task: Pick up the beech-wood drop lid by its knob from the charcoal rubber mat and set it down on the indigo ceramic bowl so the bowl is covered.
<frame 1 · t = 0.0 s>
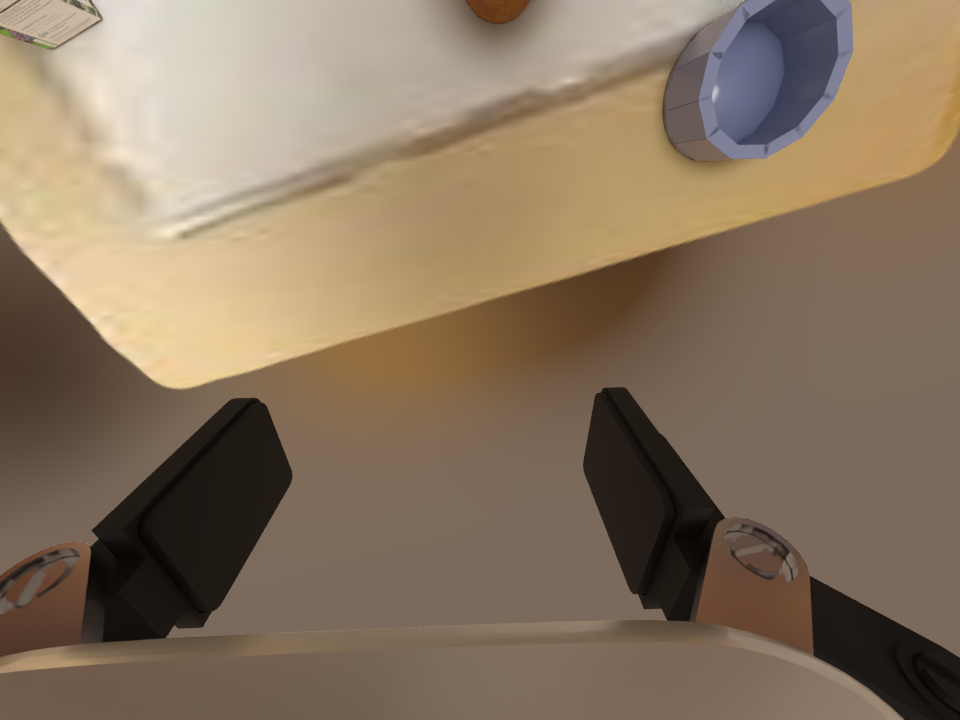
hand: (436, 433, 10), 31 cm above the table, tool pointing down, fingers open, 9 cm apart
bowl: (723, 92, 32), on the table
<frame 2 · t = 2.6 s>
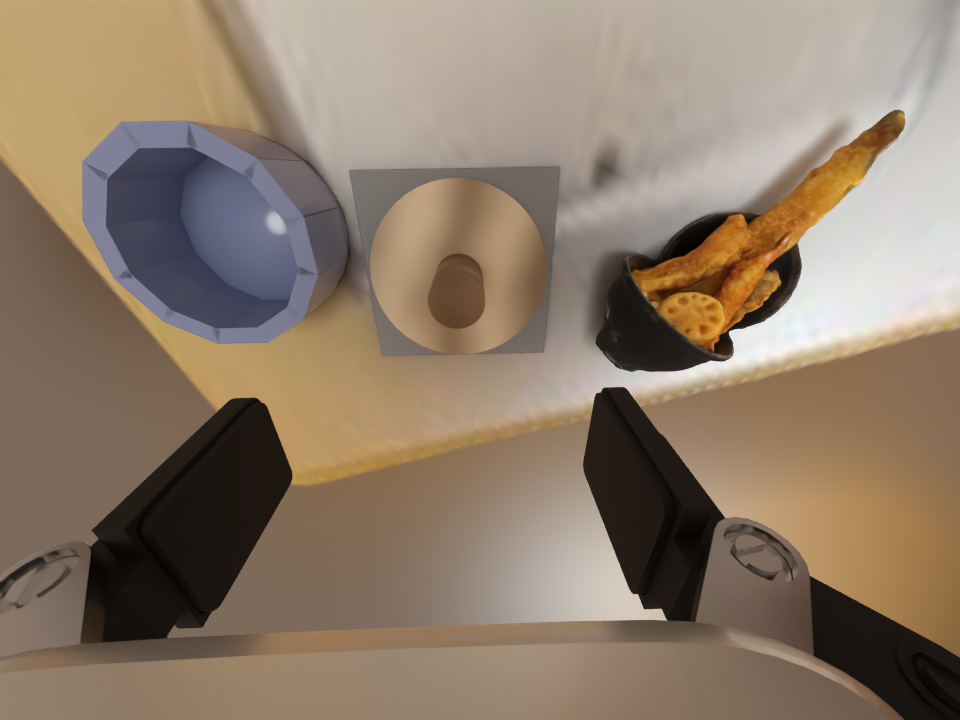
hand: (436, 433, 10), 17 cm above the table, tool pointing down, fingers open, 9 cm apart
mat: (459, 271, 25), on the table
black dish with food: (693, 251, 25), on the table
lid: (459, 273, 24), point 1 cm above the table, touching mat
bowl: (266, 231, 23), on the table
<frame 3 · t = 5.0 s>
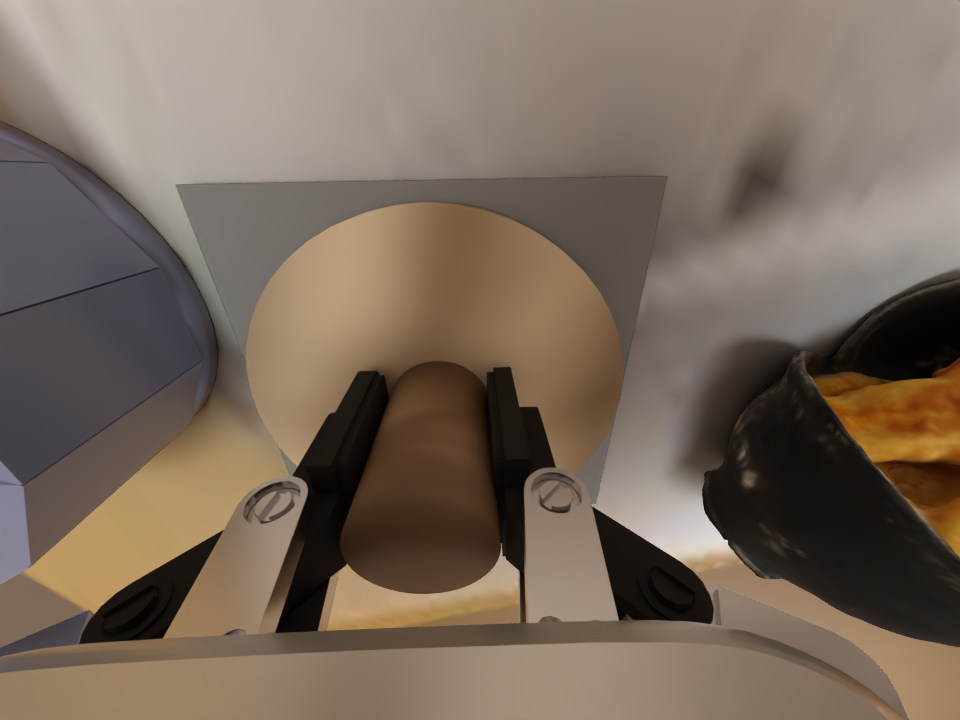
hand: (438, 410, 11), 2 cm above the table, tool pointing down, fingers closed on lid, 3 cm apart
mat: (442, 377, 13), on the table
black dish with food: (893, 338, 13), on the table
lid: (442, 386, 12), point 1 cm above the table, touching gripper, mat
bowl: (32, 309, 11), on the table
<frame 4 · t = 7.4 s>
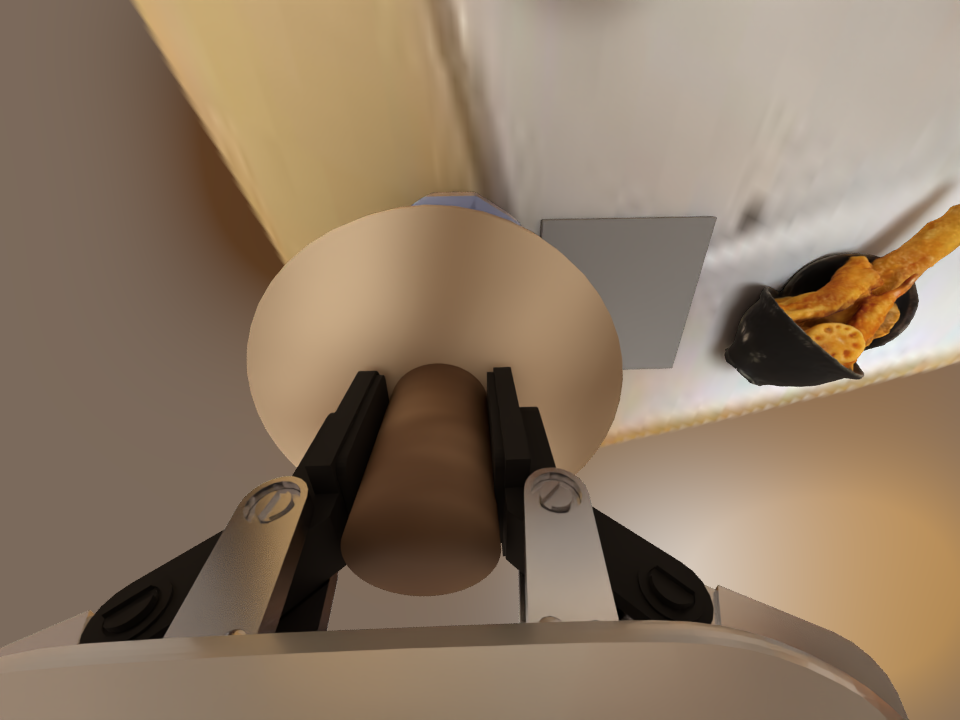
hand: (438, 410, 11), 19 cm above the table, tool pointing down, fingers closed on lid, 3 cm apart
mat: (612, 300, 29), on the table
black dish with food: (810, 283, 29), on the table
lid: (442, 388, 12), point 17 cm above the table, touching gripper
bowl: (457, 268, 27), on the table
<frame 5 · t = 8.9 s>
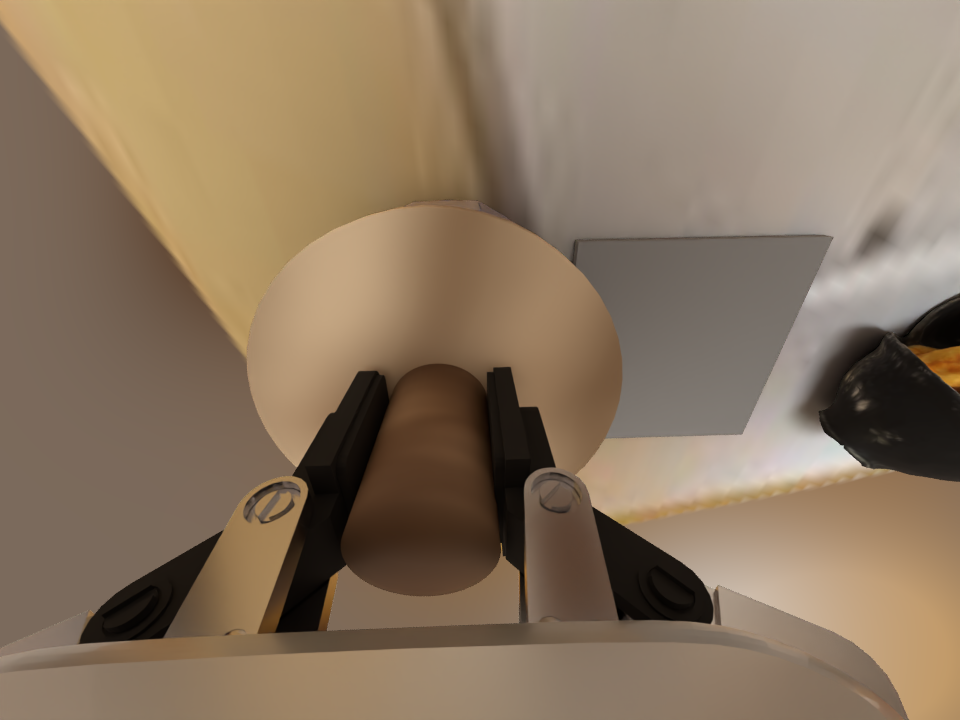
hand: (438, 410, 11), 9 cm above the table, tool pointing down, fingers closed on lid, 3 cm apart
mat: (668, 348, 21), on the table
black dish with food: (942, 325, 21), on the table
lid: (442, 388, 12), point 8 cm above the table, touching gripper
bowl: (453, 307, 19), on the table
when the fingers open (9 cm above the table, at t = 9.7 s): lid drops 1 cm, resting on bowl.
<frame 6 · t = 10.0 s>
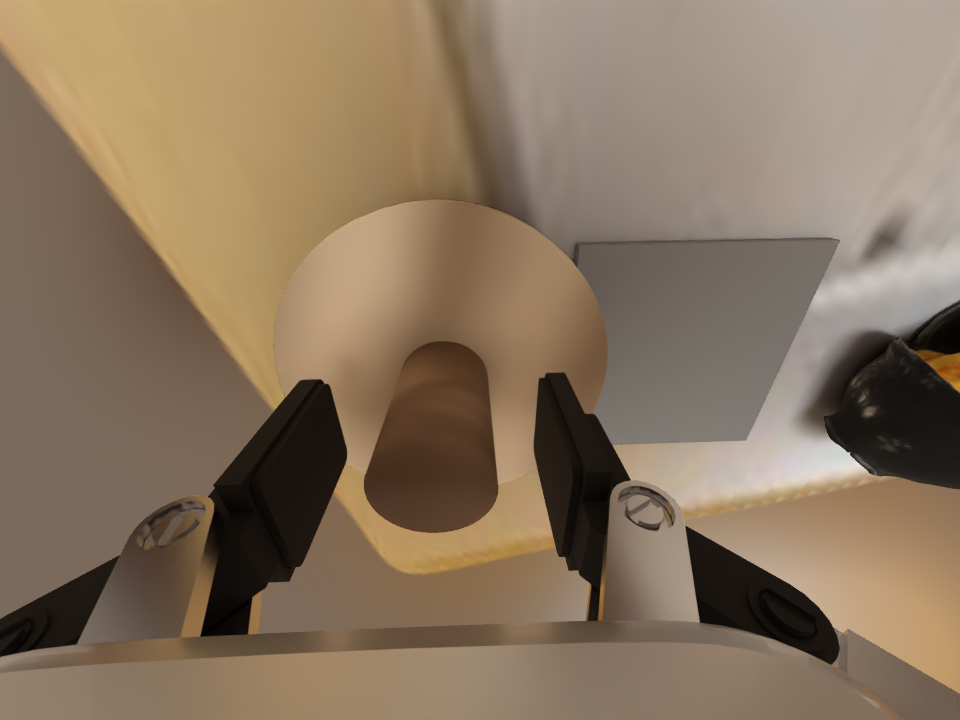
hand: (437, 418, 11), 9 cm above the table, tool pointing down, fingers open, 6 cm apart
mat: (671, 354, 20), on the table
black dish with food: (949, 329, 20), on the table
lid: (446, 366, 13), point 6 cm above the table, touching bowl
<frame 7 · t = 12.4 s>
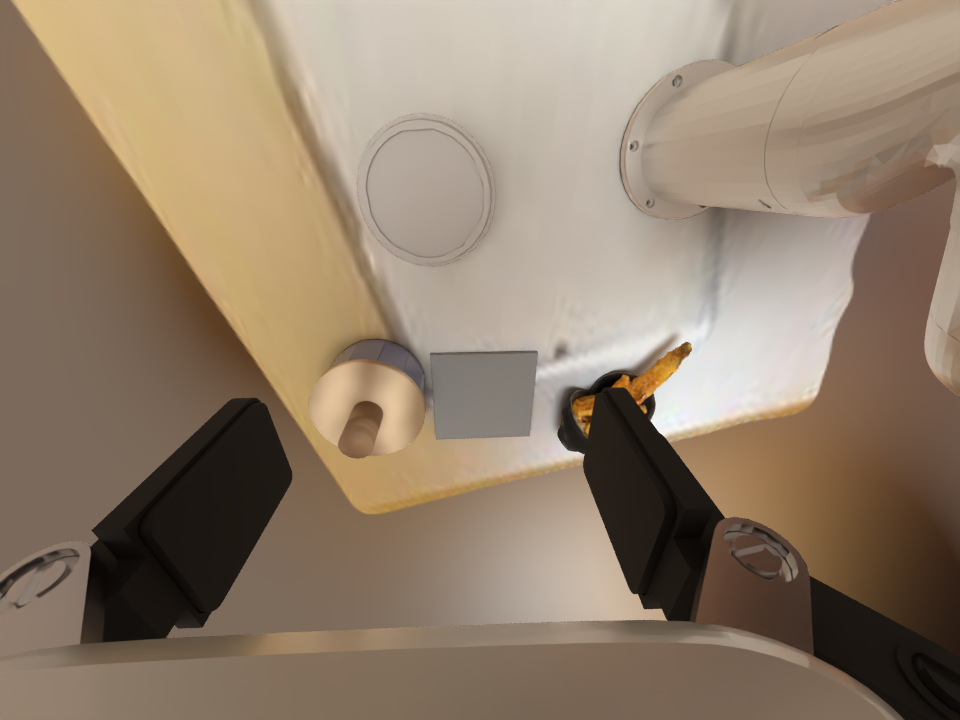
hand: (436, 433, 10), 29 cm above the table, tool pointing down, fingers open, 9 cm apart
disposable coffee cup: (435, 192, 33), on the table
mat: (483, 396, 45), on the table
black dish with food: (609, 385, 45), on the table
lid: (369, 407, 37), point 6 cm above the table, touching bowl
bowl: (380, 379, 42), on the table
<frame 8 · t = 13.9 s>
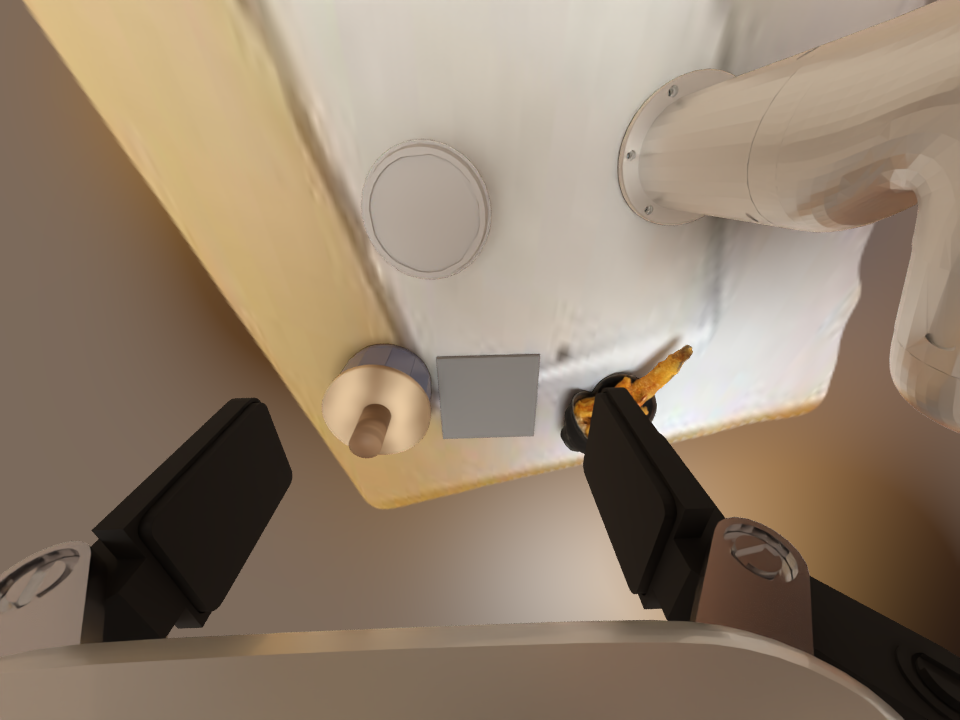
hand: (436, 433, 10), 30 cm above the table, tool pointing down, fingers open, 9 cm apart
disposable coffee cup: (438, 204, 35), on the table
mat: (488, 397, 46), on the table
black dish with food: (611, 386, 46), on the table
lid: (378, 409, 39), point 6 cm above the table, touching bowl
bowl: (388, 381, 44), on the table
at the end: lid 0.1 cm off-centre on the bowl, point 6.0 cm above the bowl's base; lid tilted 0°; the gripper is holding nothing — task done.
